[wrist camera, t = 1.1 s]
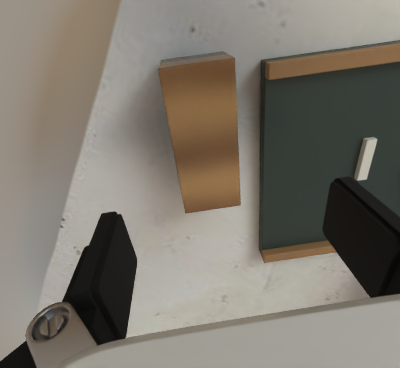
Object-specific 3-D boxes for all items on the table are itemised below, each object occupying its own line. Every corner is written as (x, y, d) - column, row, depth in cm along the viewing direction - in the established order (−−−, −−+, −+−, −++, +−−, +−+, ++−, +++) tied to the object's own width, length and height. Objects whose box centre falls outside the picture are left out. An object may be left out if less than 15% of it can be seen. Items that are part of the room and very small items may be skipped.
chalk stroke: (363, 138, 24) (367, 140, 23) (373, 136, 24) (377, 139, 23) (353, 178, 26) (357, 181, 26) (363, 176, 26) (366, 179, 26)
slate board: (260, 59, 21) (269, 63, 19) (548, 19, 21) (584, 18, 19) (258, 249, 32) (264, 263, 31) (443, 221, 33) (459, 233, 31)
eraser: (160, 60, 20) (157, 68, 16) (223, 51, 20) (234, 57, 16) (183, 186, 26) (185, 213, 23) (231, 179, 27) (240, 205, 23)
